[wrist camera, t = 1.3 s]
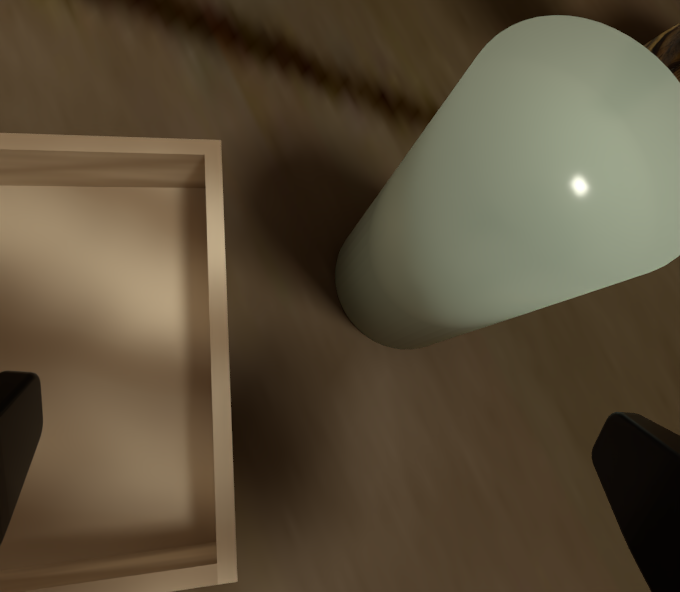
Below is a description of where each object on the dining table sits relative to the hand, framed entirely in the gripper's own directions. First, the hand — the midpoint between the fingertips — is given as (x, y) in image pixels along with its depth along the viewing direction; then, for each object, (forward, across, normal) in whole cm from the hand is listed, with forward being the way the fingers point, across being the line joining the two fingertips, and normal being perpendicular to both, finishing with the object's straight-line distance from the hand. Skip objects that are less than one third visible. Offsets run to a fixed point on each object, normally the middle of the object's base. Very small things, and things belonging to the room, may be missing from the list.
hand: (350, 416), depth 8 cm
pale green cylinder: (+15, -6, +4) cm, 17 cm away
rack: (+12, +9, +8) cm, 17 cm away
